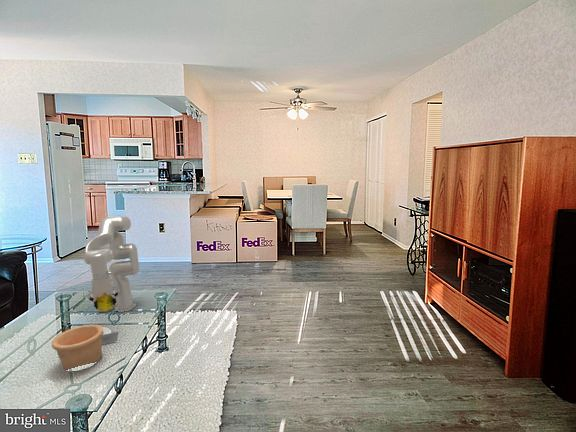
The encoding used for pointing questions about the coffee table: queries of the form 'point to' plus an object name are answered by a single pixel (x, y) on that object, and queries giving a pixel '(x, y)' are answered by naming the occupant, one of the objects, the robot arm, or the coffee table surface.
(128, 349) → the coffee table surface
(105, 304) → the supplement box
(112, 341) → the mat
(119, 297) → the robot arm
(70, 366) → the pottery
